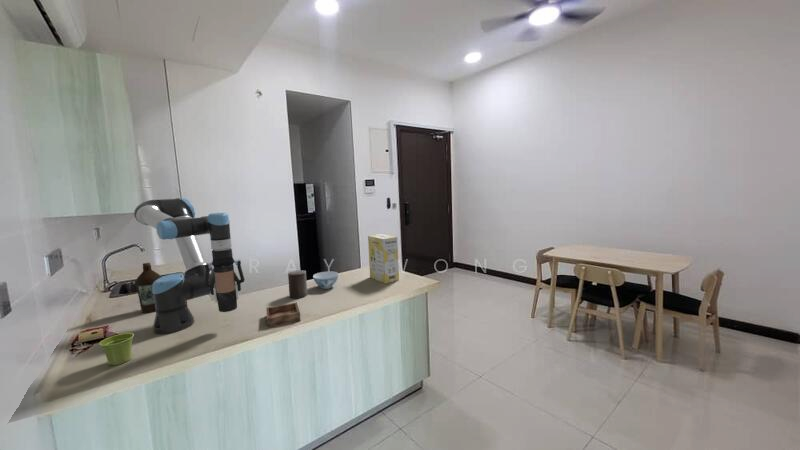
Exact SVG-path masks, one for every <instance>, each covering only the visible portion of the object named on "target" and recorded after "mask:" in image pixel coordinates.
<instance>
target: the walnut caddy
mask: <svg viewBox="0 0 800 450" xmlns="http://www.w3.org/2000/svg"><path fill="white" fill-rule="evenodd" d="M296 322H301V312H300V307H299V305H298V302H293V303H287V304H285V303H284V304H281V305H275V306H274V305H273V306H269V307H266V324H267V328H271V327H275V326H276V327H277V326H281V325H286V324H292V323H296Z"/></svg>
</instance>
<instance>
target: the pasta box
mask: <svg viewBox="0 0 800 450" xmlns="http://www.w3.org/2000/svg"><path fill="white" fill-rule="evenodd" d="M367 243H368V264H369V266H368V267H369V277H370V279H373V280H375V281H377V282H381V283H382V284H383V283H384V284H385V285H386V284H389V283H393V282H397V281H399V280H400V273H399V268H400V267H399V251H398V250H399V247H398V246H399V244H398V243H399V242H398V236H396V235H388V234H385V233H378V234H372V235H371V234H370V235H367Z"/></svg>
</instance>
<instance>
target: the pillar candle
mask: <svg viewBox="0 0 800 450" xmlns="http://www.w3.org/2000/svg"><path fill="white" fill-rule="evenodd" d="M287 274H288V275H287V278H288V279H287V281H288V293H289V298H290V299H295V300H296V299H301V298H305V297H307V296H308V287H307V286H308V284H307V271H306V270H303V269H302V270H299V269H297V270H292V271H289V272H288V273H287Z"/></svg>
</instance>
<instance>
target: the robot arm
mask: <svg viewBox="0 0 800 450" xmlns="http://www.w3.org/2000/svg"><path fill="white" fill-rule="evenodd" d="M195 215H196V212H195V207H194V205H193V203H192V202H191V201H190V200H189V199H186V198H179V197H177V198H176V197H175V198H166V199H165V198H164V199H161V198H160V199H149V200H146V201H143V202H141V203H140V204H138V205H137V206H136V207H135V209H134V212H133V216H134V219H135V220H136V221H137V222H138V223H140V224H142V225H145V226H149V227H152V228H153V229H155V230H156V233H157V235H158V238H159V239H161V240H174V239H175V242H176V244H177V247H178V250H179V253H180V255H181V258H182V261H183V263H184V267H185V269H186V270H185V271H184V274H183V273H180V272H179V273H178V272H177V273H171V274H167V275H164V276H161V278H159V279H157V280H156V281H154V283H153V285H152V287H153V291H152V293H153V296H154V303H155V309H156V311H155V318H154V319H153V320H154V321H153V325H152V330H153V333H154V334H157V335H165V334H172V333H176V332H179V331H182V330H185V329H187V328H189V327H191V326H192V325H193V324H194V323H195V319H194V315H193V313H192V311H191V310H190V309H189V306H188V301H189V300H190V301H191V300H193V299H197V298H201V297H204V296H210V295H212V296H214V303H215V304H216V303H218V301H217V295H216V286H215V274H214V267H221V266H230V265H232V264H233V265H234V264H235V266H236V267H237V271H238V275H239V277H238V275H237V273H236V272H235V271H234V272H233V273H234V280H235V288H236V298H237V300H239V299H240V295H239V294H240V293H239V292H241V289H242V288H241V287H242V285H241V284H242V283H244V282H245V280H246V279H245V276H244V272H243V268H242V259H237V260H236V259H234V257H233V248H232V238H231V226H230V219H229V218H230V217H229V214H228V213H227V212H212V213H209V214H208V215H205V216H200V217H196V216H195ZM202 235H209V237H210V238H209V239H210V248H211V255H212V261H211V262H209V263H208V262H207V260H206V259H205V256H204V253H203V251H202V248H201V246H200V243H199V241H198V238H197V236H202Z"/></svg>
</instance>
